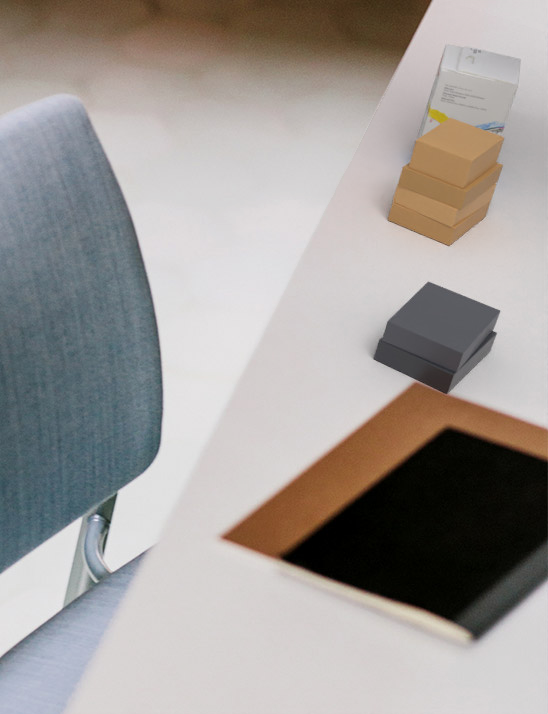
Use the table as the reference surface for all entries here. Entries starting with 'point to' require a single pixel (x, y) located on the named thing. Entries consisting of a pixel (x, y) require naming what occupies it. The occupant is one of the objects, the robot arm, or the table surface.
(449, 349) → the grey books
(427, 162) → the tan rectangular block
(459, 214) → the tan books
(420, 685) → the table surface
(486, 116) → the ink box
